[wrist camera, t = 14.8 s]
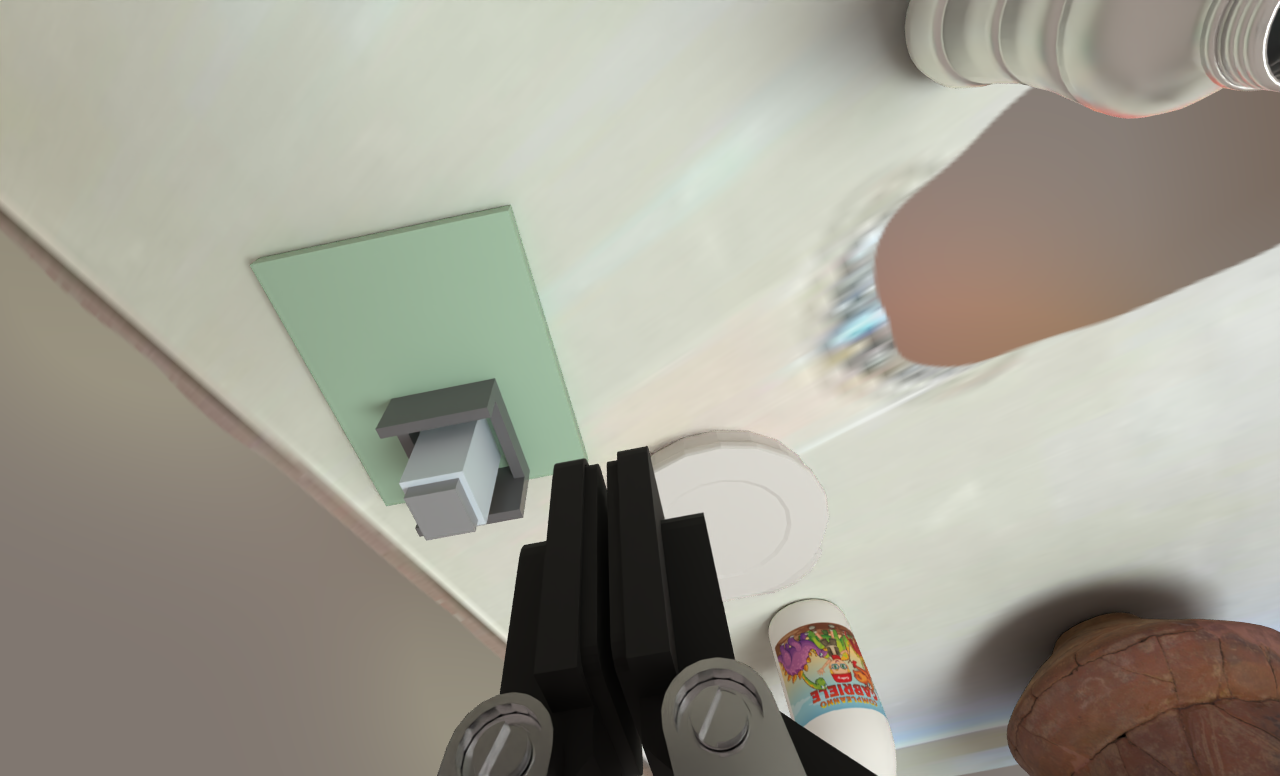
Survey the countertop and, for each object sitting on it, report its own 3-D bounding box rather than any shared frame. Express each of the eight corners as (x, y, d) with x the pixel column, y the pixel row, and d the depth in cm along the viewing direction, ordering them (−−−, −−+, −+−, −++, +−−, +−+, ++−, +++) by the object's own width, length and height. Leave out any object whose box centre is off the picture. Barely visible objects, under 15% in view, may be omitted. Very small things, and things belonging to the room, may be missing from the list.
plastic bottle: (898, 101, 35) (1185, 186, 18) (883, -35, 31) (1224, -90, 14) (1012, 58, 34) (1429, 103, 17) (1010, -86, 30) (1533, -211, 13)
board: (259, 258, 37) (249, 265, 36) (510, 204, 36) (508, 210, 35) (390, 495, 48) (386, 506, 47) (587, 458, 47) (587, 468, 46)
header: (391, 398, 42) (368, 442, 37) (495, 378, 41) (483, 420, 37) (436, 488, 46) (419, 536, 42) (530, 470, 46) (523, 517, 42)
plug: (426, 417, 43) (394, 494, 36) (481, 407, 42) (459, 482, 36) (451, 471, 45) (425, 552, 38) (503, 461, 45) (486, 540, 38)
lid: (717, 615, 59) (722, 642, 56) (571, 504, 50) (570, 531, 47) (871, 524, 53) (885, 550, 51) (739, 383, 45) (747, 405, 42)
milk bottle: (845, 639, 61) (940, 878, 44) (770, 652, 62) (835, 895, 45) (843, 589, 57) (946, 833, 40) (762, 604, 58) (831, 851, 41)
